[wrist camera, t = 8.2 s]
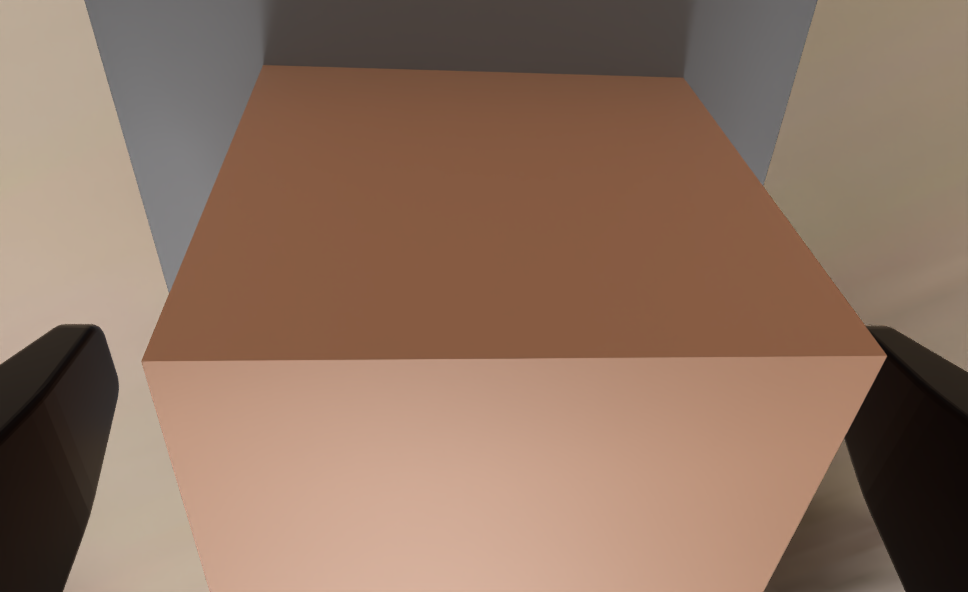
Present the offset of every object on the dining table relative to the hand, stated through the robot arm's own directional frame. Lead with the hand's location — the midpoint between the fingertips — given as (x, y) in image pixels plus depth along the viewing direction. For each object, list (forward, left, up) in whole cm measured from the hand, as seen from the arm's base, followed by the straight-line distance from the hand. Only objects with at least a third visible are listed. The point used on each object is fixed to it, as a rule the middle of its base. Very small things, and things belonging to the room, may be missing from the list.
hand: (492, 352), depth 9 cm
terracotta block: (0, 0, -3) cm, 3 cm away
